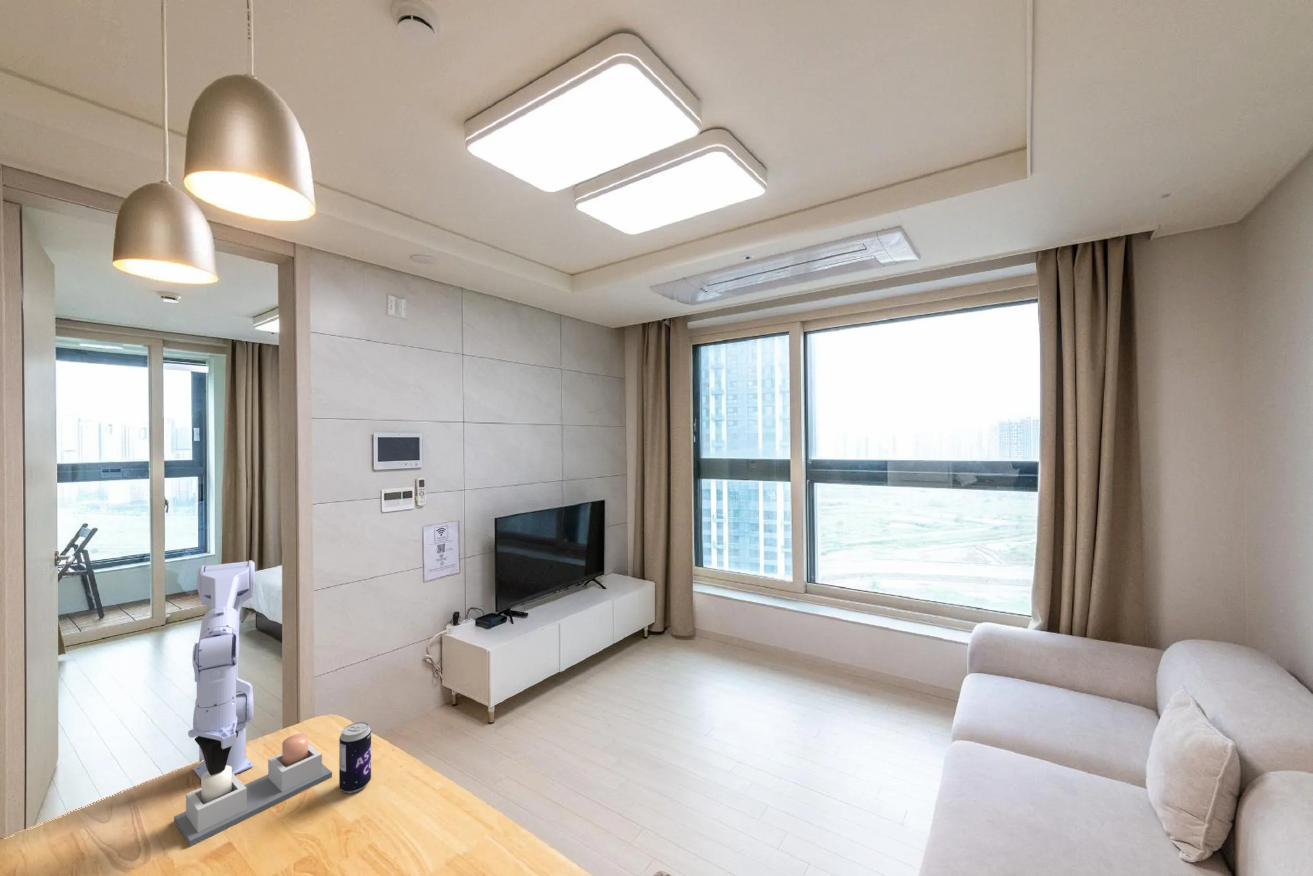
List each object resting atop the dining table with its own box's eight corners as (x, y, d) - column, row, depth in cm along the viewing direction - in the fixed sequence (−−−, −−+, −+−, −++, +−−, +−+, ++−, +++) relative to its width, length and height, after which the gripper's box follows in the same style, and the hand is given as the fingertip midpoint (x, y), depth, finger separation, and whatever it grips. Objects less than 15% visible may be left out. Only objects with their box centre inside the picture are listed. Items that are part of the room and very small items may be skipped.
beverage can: (356, 797, 104) (356, 738, 104) (332, 793, 105) (332, 734, 105) (377, 779, 110) (377, 722, 110) (354, 775, 111) (354, 719, 111)
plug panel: (174, 821, 97) (174, 795, 97) (311, 759, 116) (311, 737, 116) (189, 846, 92) (189, 818, 92) (331, 776, 110) (332, 753, 110)
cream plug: (198, 796, 98) (198, 774, 98) (227, 783, 102) (227, 762, 102) (205, 806, 95) (205, 783, 95) (235, 793, 99) (235, 771, 99)
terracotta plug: (278, 761, 109) (278, 741, 109) (302, 751, 112) (302, 731, 112) (287, 769, 106) (287, 748, 106) (311, 758, 110) (311, 738, 110)
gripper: (177, 697, 99) (177, 768, 99) (201, 722, 91) (201, 799, 91) (224, 683, 105) (224, 750, 105) (250, 705, 97) (250, 777, 97)
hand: (216, 771), depth 98 cm, fingers closed
